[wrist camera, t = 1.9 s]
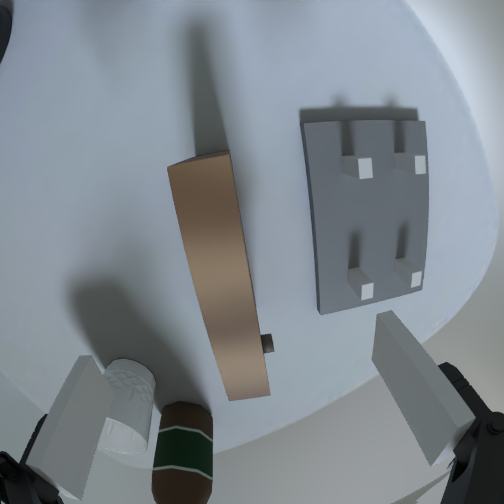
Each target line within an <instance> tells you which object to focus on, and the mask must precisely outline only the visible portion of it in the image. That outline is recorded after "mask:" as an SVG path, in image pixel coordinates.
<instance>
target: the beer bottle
mask: <svg viewBox="0 0 504 504" xmlns="http://www.w3.org/2000/svg"><path fill="white" fill-rule="evenodd" d="M212 477H213V418H212V416H211V415H210V414H209V413H208V412H207V411H206V410H205V409H203V408H202V407H201V406H200V405H195V404H190V403H185V402H177V403H174V404H171V405H168V406H165V407H164V408H163V412H162V416H161V421H160V426H159V432H158V438H157V444H156V451H155V457H154V464H153V471H152V493H153V497H154V500H155V502H156V503H157V504H207V502H208V499H209V497H210V495H211V493H212V481H213V478H212Z"/></svg>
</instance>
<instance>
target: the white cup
mask: <svg viewBox="0 0 504 504" xmlns="http://www.w3.org/2000/svg"><path fill="white" fill-rule="evenodd" d="M103 376H104V378H105V380H106V381H107V383H108V385H109V386H110V388H111V390H112V391H113V393H114V394H115V395H114V398H113V401H112V404H111V406H110V409H109V412H108V415H107V418H106V421H105V424H104V427H103V430H102V433H101V436H100V439H99V442H98V444H99V445H101V446H103V447H105V448H107V449H109V450H112V451H115V452H119V453H124V454H139V453H142V452H144V451H146V449H147V447H148V439H149V432H150V425H151V418H152V410H153V402H154V401H153V396H154V390H155V385H156V382H155V379H154V376H153V374H152V373H151V372H150V371H149V370H148V369H147V368H146V367H145V366H143V365H142V364H140V363H138V362H136V361H133V360H128V359H117V360H113V361H112V362H111V363H110V364H109V365H108V366H107V368H106V370H105V372H104V374H103Z"/></svg>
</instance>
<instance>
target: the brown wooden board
mask: <svg viewBox="0 0 504 504" xmlns="http://www.w3.org/2000/svg"><path fill="white" fill-rule="evenodd" d="M167 171H168V176H169V181H170V186H171V190H172V195H173V200H174V205H175V209H176V214H177V218H178V223H179V227H180V231H181V236H182V240H183V244H184V248H185V252H186V256H187V260H188V264H189V268H190V272H191V276H192V280H193V284H194V287H195V291H196V295H197V298H198V302H199V306H200V309H201V313H202V316H203V320H204V323H205V327H206V330H207V333H208V337H209V340H210V343H211V347H212V350H213V353H214V356H215V360H216V363H217V366H218V369H219V372H220V375H221V378H222V381H223V384H224V387H225V390H226V393H227V396H228V399H229V401H234V400H242V399H250V398H256V397H263V396H269V395H271V394H270V388H269V383H268V377H267V371H266V365H265V359H264V353H270V352H274V346H273V340H272V335H271V334H265V335H260V328H259V322H258V316H257V310H256V304H255V299H254V293H253V287H252V281H251V275H250V269H249V264H248V258H247V252H246V246H245V240H244V234H243V228H242V222H241V216H240V210H239V204H238V198H237V193H236V187H235V181H234V175H233V168H232V162H231V156H230V150H227V151H222V152H216V153H211V154H205V155H200V156H195V157H192V158H190V159H187V160H184V161H181V162H179V163H176V164H173V165H171V166H168V167H167Z"/></svg>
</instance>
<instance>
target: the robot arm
mask: <svg viewBox="0 0 504 504" xmlns="http://www.w3.org/2000/svg"><path fill="white" fill-rule="evenodd" d="M10 30H11V16H10V12H9V11H8V9H7V8H5V7H3V6H0V62H1V60H2V57H3V55H4V52H5V49H6V46H7V43H8V39H9V35H10ZM372 361H373V363H374V364H375V366H376V368H377V369H378V371H379V373H380V375H381V376H382V378H383V379H384V382H385V383H386V385H387V387H388V389H389V390H390V392H391V394H392V396H393V397H394V399H395V401H396V403H397V405H398V406H399V408H400V410H401V412H402V414H403V415H404V417H405V419H406V421H407V423H408V425H409V427H410V428H411V430H412V432H413V434H414V436H415V437H416V439H417V442H418V443H419V445H420V447H421V449H422V451H423V453H424V455H425V457H426V459H427V461H428V463H429V465H430V467H432V466H434V465H436V464H438V463H439V462H442V461H443V460H445V459H447V458H448V457H449V456H450V454H451V453H452V452H454V454H455V455H456V457H455V458H454V459H453V460H452V462H451V463H450V464H449V466H448V468H447V469H450V468H451V467H452V469H451V473H450V476H449V480H448V483H447V486H446V489H445V492H444V495H443V498H442V501H441V503H440V504H504V414H503V413H500V412H492V411H491V410H490V409H489V408H488V407H487V406H486V404H485V403H484V402H483V400H482V399H481V398H480V396H479V395H478V394H477V392H476V391H475V390H474V389H473V387H472V386H471V385H469V382H468V381H467V380H466V379H465V378H464V376H463V375H462V374H461V373H460V371H459V370H458V369H457V368H456V367H454V366H453V365H451V364H449V363H448V362H445V363H443V364H440V365H438V366H437V365H436V363H435V362H434V361H433V359H432V358H431V357H430V356H429V354H428V353H427V352H426V351H425V350H424V348H423V347H422V346H421V345H420V343H419V342H418V341H417V340H416V338H415V337H414V336H413V335H412V334H411V332H410V331H409V330H408V329H407V328H406V326H405V325H404V324H403V323H402V322H401V320H400V319H399V318H398V317H397V316H396V315H395V313H394V312H393V311H392V310H391V311H387V312H383V313H380V314H377V318H376V329H375V338H374V346H373V354H372ZM114 395H115V394H114V393H113V391H112V390H111V388H110V386H109V385H108V383H107V381H106V380H105V378H104V376H103V375H102V373H101V371H100V370H99V368H98V366H97V364H96V363H95V361H94V359H93V357H92V355H90V356H79V358H78V359H77V361H76V363H75V364H74V366H73V368H72V370H71V372H70V373H69V375H68V377H67V379H66V381H65V382H64V384H63V386H62V388H61V390H60V392H59V394H58V396H57V397H56V399H55V401H54V403H53V405H52V407H51V409H50V411H49V413H48V414H45V415H44V416H43V417H42V418H41V419H40V420H39V422H38V424H37V426H36V428H35V432H33V434H32V436H31V437H32V438H31V439H30V440H29V443H28V445H27V447H26V449H25V451H24V454H23V456H22V458H21V460H20V463H17V462H16V461H15V460H14V459H13V458H12V457H11V456H10V455H9V454H8V453H7V452H4V451H1V452H0V504H1V501H2V502H4V503H5V504H64V503H63V501H62V499H61V498H60V496H58V493H59V491H60V492H61V493H63V494H64V495H65V496H67V497H69V498H72V499H75V500H79V501H81V500H82V497H83V493H84V489H85V485H86V482H87V478H88V475H89V471H90V468H91V464H92V461H93V458H94V454H95V451H96V448H97V445H98V442H99V439H100V436H101V433H102V430H103V427H104V424H105V421H106V418H107V415H108V412H109V409H110V406H111V404H112V401H113V398H114Z"/></svg>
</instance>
